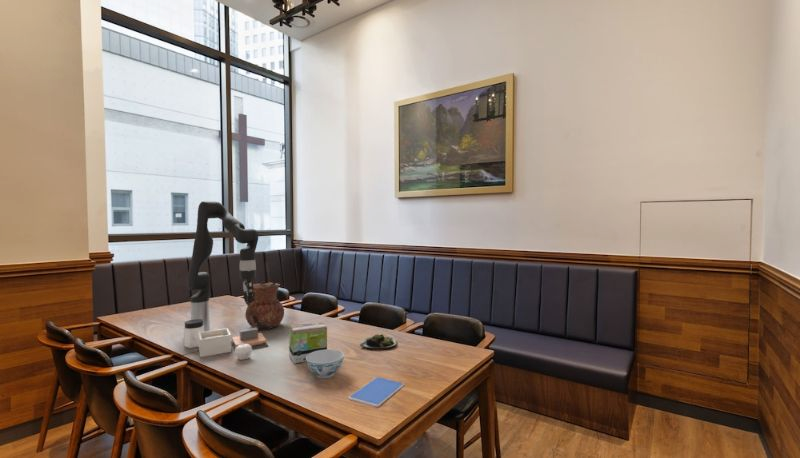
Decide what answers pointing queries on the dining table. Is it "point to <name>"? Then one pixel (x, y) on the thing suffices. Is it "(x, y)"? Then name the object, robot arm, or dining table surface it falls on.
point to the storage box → (214, 342)
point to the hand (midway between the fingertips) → (248, 301)
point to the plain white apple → (243, 351)
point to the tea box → (306, 340)
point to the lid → (249, 337)
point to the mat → (253, 346)
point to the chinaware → (324, 362)
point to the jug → (264, 307)
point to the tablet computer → (376, 391)
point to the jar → (192, 332)
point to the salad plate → (378, 343)
